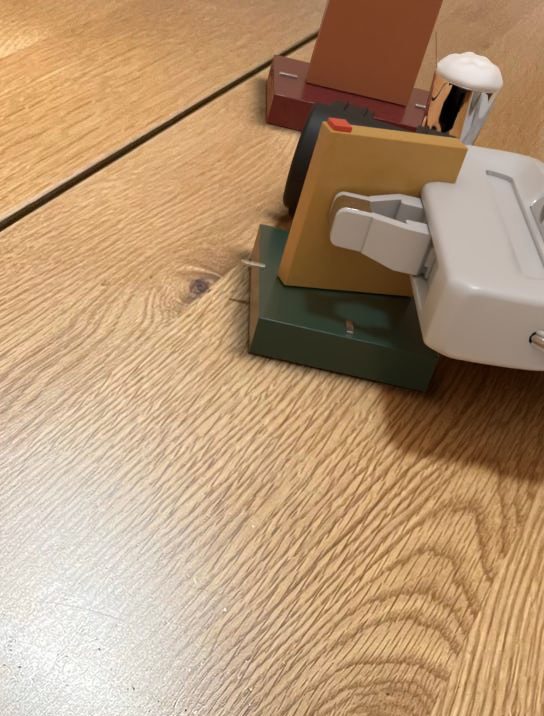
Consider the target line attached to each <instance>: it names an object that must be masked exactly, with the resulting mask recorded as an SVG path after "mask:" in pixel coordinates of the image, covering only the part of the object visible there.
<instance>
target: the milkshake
mask: <svg viewBox="0 0 544 716" xmlns="http://www.w3.org/2000/svg"><path fill="white" fill-rule="evenodd" d="M502 76H503V75H502V73H501V70H500V68H499V66H497V64H495V63H493V62H492V61H491V60H490V59H489V58H488V57H486V56H484V55H478V54H476V53H475V52H473V51H465V52H462V53H451V54H448V55H446V56H445V57H443V58H441V59H440V60H438V32H437V30H435V69H434V72H433V76H432V80H431V85H430V88H429V91H430V92H429V96H428V99H427V103H426V107H425V111H424V115H423V119H422V122H421V126H423V127H426V125H428V126H429V127H430V129H433V130H436V131H439V132H443V133H445V132H446V131H448V132H449V135H452V136H455V137H457V138H458V139H459V140H460V141H461V142H462V143H463V144H465V145H472V146H475V143H476V141H477V139H478V137H479V135H480V133H481V131H482V129H483V127H484V125H485V123H486V122H487V119H488V117H489V115H490V113H491V111H492V109H493V107H494V105H495V102H496V100H497V98H498V97H499V94H500V92H501V90H502V88H503V86H504V80H503V77H502Z"/></svg>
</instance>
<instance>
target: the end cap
mask: <svg viewBox="0 0 544 716" xmlns="http://www.w3.org/2000/svg"><path fill="white" fill-rule="evenodd" d="M374 114H375V112H374V111H371V110H368V107H367V106H366V107H365V108H361V107H358V106H355V105H351V104H349V101H347V100H346V101H345V102H342V101H337V100H335V101H332V102H331V103H330V104H329V105H325V104H322V103H318V102H317V103H315V104H314V105H313V106H312V108H311V110H310V112H309V114H308V117H307V119H306V122H305V124H304V127H303V129H302V131H300V134H299V138H298V141H297V144H296V147H295V149H294V152H293V156H292V160H291V162H290V167H289V170H288V174H287V177H286V180H285V185H284V190H283V195H282V203H283V206H284V207H285V208H287V216H288V217H290V218H293V219H294V216H295V212H296V209H297V206H298V202H299V199H300V196H301V192H302V189H303V185H304V182H305V179H306V175H307V172H308V169H309V165H310V162H311V159H312V155H313V152H314V148H315V145H316V142H317V138H318V135H319V132H320V128H321V125H322V122H323V121H325V122H327V120H328V118H337V119H345V120H346V121H347V122H348V123H349V124H350V125H356V126H364V127H372V128H380V129H388V130H396V131H403V132H411V133H419V134H427V135H435V136H443V137H451V138H457V137H455V136H452V135H449V132H448V131H446V132H445V133H443V132H439V131H436V130H433V129H430V127H429V126H428V125H426V127H423V126H420V125H418V127H417V129H416V131H415V132H413V131H410V130H406V129H403V128H400V127H397V126H393V125H390V124H387V123H384V122H380V121H377V120H374V119H373V117H374Z"/></svg>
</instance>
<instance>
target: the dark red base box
mask: <svg viewBox="0 0 544 716" xmlns="http://www.w3.org/2000/svg"><path fill="white" fill-rule="evenodd" d="M272 56H273V57H272V60H271V63H270V68H269V71H268V75H267V79H266V124H270V125H275V126H279V127H283V128H286V129H292V130H295V131H300V132H302V129H303V127H304V124H305V122H306V119H307V117H308V114H309V112H310V110H311V108H312V106H313V105H314V104H315V103H317V102H318V103H322V104H325V105H329V104H330V103H331V102H332V101H335V100H337V101H342V102H345V101H346V100H347V101H349V104H351V105H355V106H358V107H361V108H365V107H366V106H367V107H368V110H371V111H374V112H375V114H374V117H373V119H374V120H377V121H380V122H384V123H387V124H390V125H393V126H397V127H400V128H403V129H406V130H410V131H413V132H415V131H416V129H417V127H418V125H420V126H421V122H422V119H423V115H424V111H425V107H426V103H427V99H428V96H429V92H430V90H425V89H421V88H416V87H415V86H414V87H413V90H412V93H411V96H410V99H409V102H408V105H407V106H403V105H399V104H395V103H390V102H386V101H382V100H378V99H374V98H369V97H365V96H361V95H357V94H353V93H348V92H344V91H340V90H336V89H331V88H327V87H323V86H319V85H315V84H310V83H307V82H306V75H307V71H308V68H309V64H310V61H309V62H308V61H305V60H300V59H295V58H291V57H287V56H283V55H278V54H275V53H274V54H273V55H272Z"/></svg>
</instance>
